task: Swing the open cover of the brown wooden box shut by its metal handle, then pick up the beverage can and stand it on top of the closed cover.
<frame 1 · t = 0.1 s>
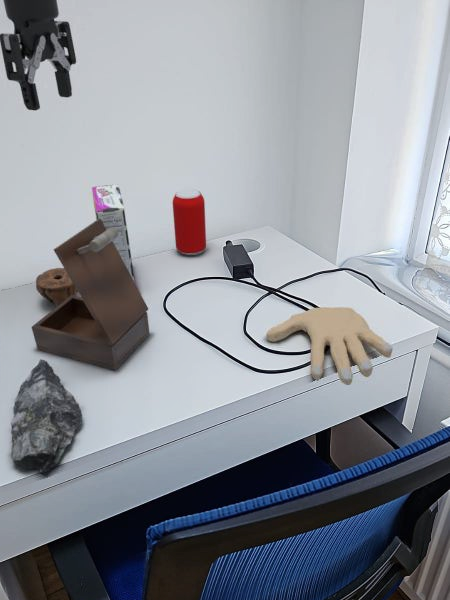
hand: (50, 103, 94), 30 cm above the table, tool pointing down, fingers open, 8 cm apart
artifact: (62, 302, 104), on the table
rock: (65, 441, 81), on the table
brown wooden box: (94, 342, 94), on the table
candy bar box: (120, 283, 109), on the table
beverage can: (191, 251, 119), on the table
case cover: (115, 278, 84), point 13 cm above the table, hinge at 65.0°
hand model: (324, 315, 99), on the table
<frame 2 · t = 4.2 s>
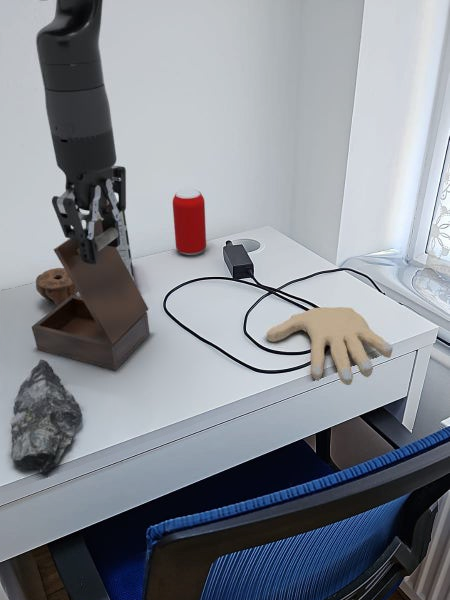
hand: (102, 253, 82), 16 cm above the table, tool pointing down, fingers closed on case cover, 5 cm apart
case cover: (115, 278, 84), point 13 cm above the table, hinge at 65.0°, touching gripper
everything else where it was.
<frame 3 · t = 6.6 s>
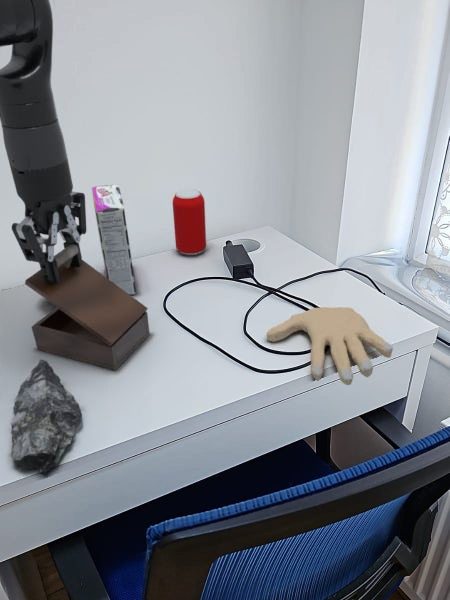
hand: (64, 273, 87), 12 cm above the table, tool pointing down, fingers closed on case cover, 5 cm apart
case cover: (92, 287, 87), point 10 cm above the table, hinge at 29.5°, touching gripper
everything else where it was.
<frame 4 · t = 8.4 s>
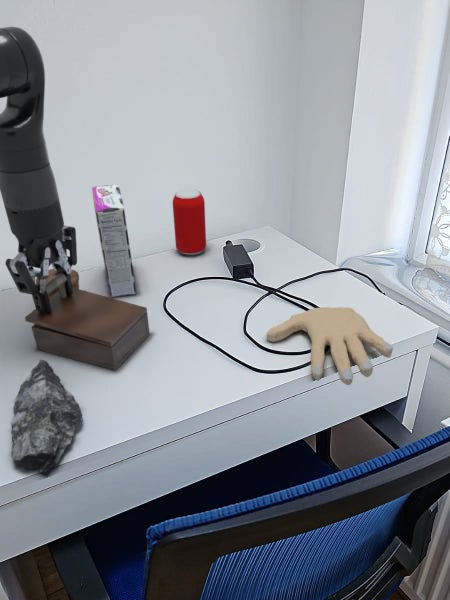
hand: (55, 302, 92), 6 cm above the table, tool pointing down, fingers closed on case cover, 5 cm apart
case cover: (85, 302, 89), point 7 cm above the table, hinge at 2.8°, touching gripper
everything else where it was.
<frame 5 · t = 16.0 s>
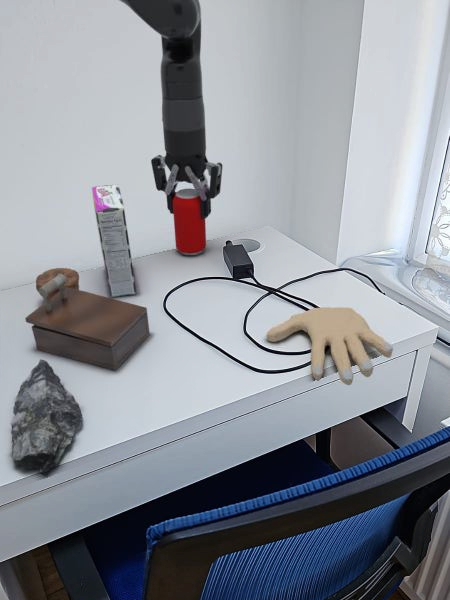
hand: (189, 214, 114), 8 cm above the table, tool pointing down, fingers closed on beverage can, 6 cm apart
beverage can: (191, 251, 119), on the table, touching gripper
case cover: (85, 303, 89), point 7 cm above the table, hinge at 2.1°
everything else where it was.
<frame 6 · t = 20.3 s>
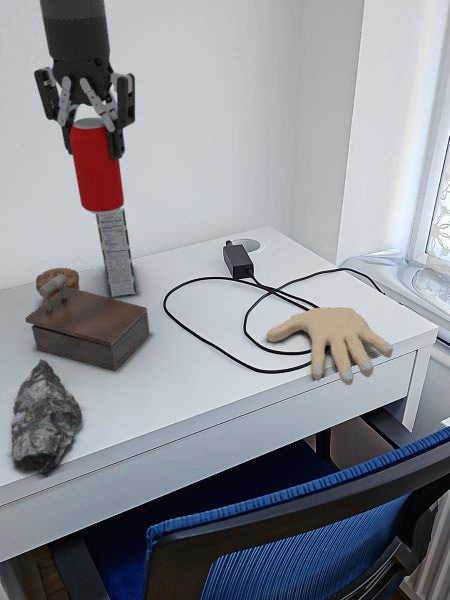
hand: (95, 155, 80), 27 cm above the table, tool pointing down, fingers closed on beverage can, 6 cm apart
beverage can: (104, 210, 85), point 20 cm above the table, touching gripper
everything else where it was.
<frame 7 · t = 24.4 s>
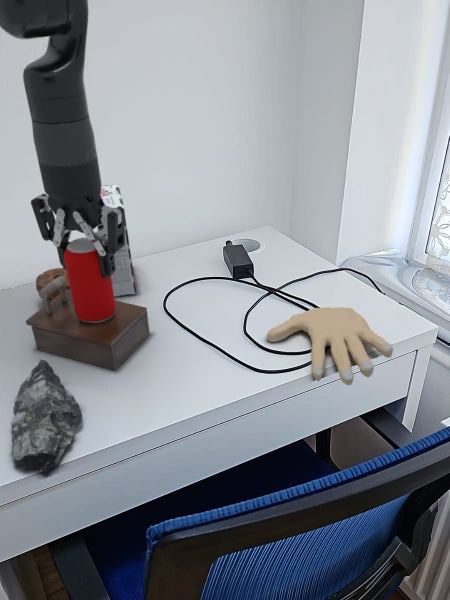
hand: (88, 271, 85), 13 cm above the table, tool pointing down, fingers closed on beverage can, 6 cm apart
beverage can: (96, 317, 90), point 5 cm above the table, touching case cover, gripper
case cover: (85, 304, 90), point 7 cm above the table, hinge at 0.3°, touching beverage can
everything else where it was.
when the fingers open (13 cm above the table, at t = 24.6 s): beverage can stays where it is, resting on case cover.
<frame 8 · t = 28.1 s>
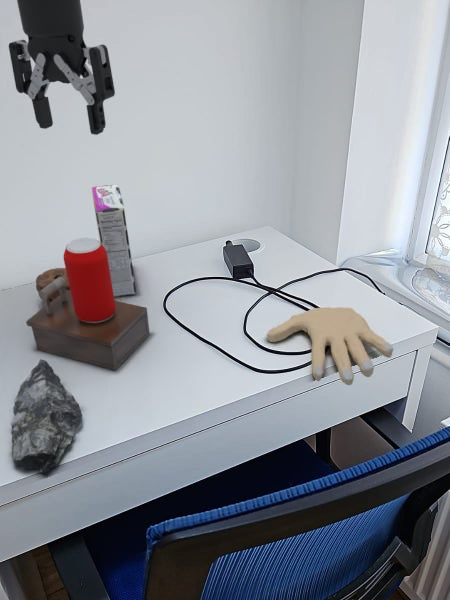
hand: (71, 130, 81), 30 cm above the table, tool pointing down, fingers open, 8 cm apart
beverage can: (96, 317, 90), point 5 cm above the table, touching case cover
case cover: (85, 304, 90), point 7 cm above the table, hinge at -0.2°, touching beverage can, brown wooden box
everything else where it was.
at the end: case cover at +0° (first picture: +65°); beverage can 0.1 cm from the target spot on the brown wooden box, point 4.9 cm above the brown wooden box's base; beverage can tilted 0° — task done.
